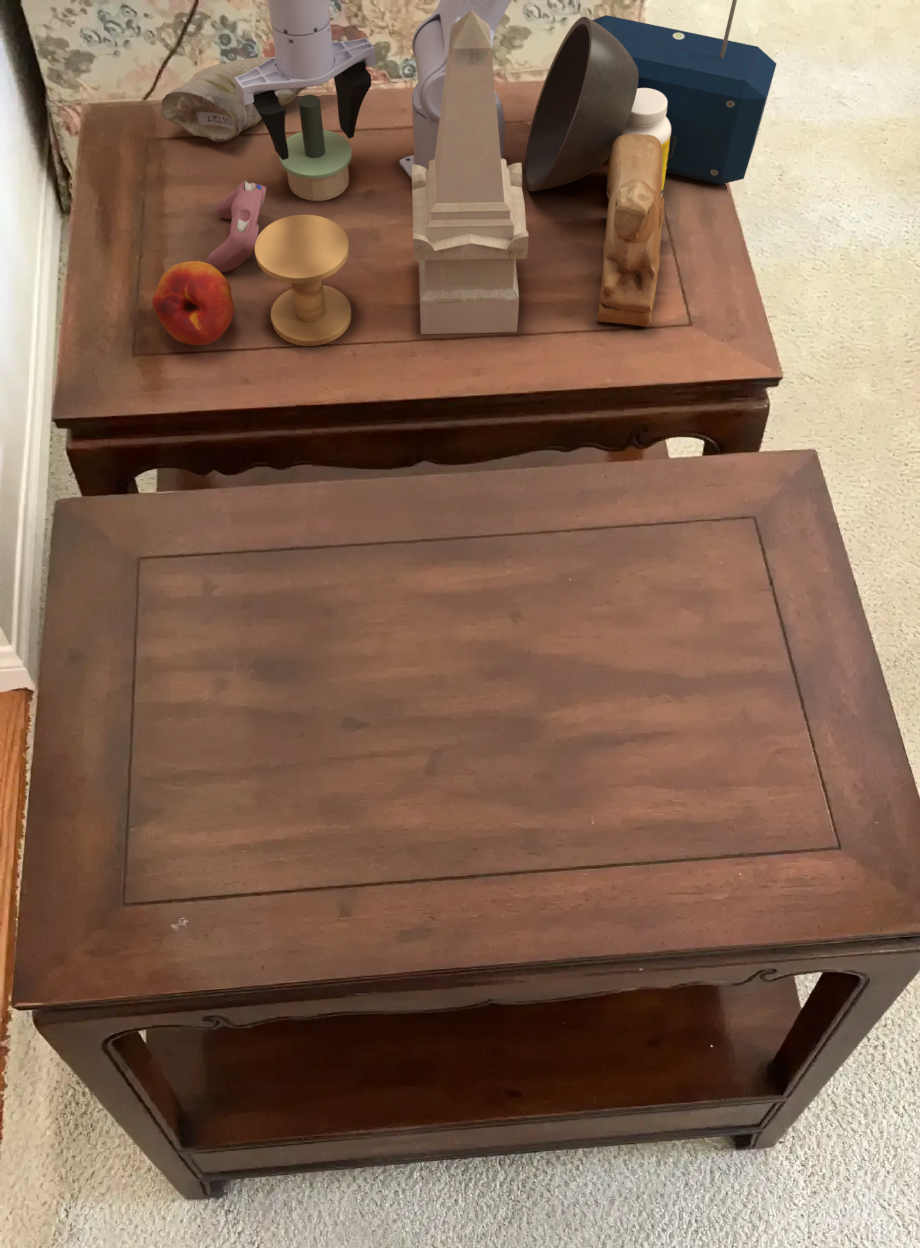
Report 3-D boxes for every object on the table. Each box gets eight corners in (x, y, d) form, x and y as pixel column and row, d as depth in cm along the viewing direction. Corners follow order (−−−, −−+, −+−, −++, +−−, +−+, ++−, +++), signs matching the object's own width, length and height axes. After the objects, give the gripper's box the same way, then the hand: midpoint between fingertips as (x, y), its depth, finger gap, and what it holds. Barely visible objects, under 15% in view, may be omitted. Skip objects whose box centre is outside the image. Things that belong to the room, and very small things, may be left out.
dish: (333, 155, 129) (330, 129, 126) (359, 189, 126) (357, 163, 123) (279, 173, 127) (275, 147, 124) (304, 208, 124) (300, 182, 121)
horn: (244, 123, 120) (173, 49, 118) (218, 187, 130) (151, 120, 128) (354, 41, 128) (289, -29, 127) (321, 107, 139) (260, 43, 137)
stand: (332, 276, 118) (324, 203, 111) (370, 330, 114) (364, 258, 107) (253, 304, 116) (239, 232, 108) (289, 360, 112) (277, 289, 104)
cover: (333, 125, 126) (328, 69, 121) (363, 165, 123) (359, 110, 117) (267, 145, 124) (259, 90, 119) (296, 187, 121) (289, 132, 115)
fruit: (147, 350, 113) (127, 287, 106) (183, 295, 117) (166, 231, 110) (220, 369, 111) (204, 307, 105) (254, 314, 115) (242, 250, 109)
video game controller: (244, 288, 119) (266, 240, 114) (202, 272, 118) (222, 222, 112) (255, 225, 125) (277, 176, 119) (214, 208, 123) (234, 158, 118)
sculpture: (590, 325, 115) (607, 200, 102) (603, 213, 123) (620, 85, 110) (654, 331, 114) (679, 206, 101) (661, 219, 123) (685, 91, 110)
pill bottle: (673, 200, 124) (687, 106, 115) (626, 219, 123) (636, 125, 114) (641, 170, 127) (652, 76, 118) (594, 188, 126) (602, 94, 117)
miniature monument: (515, 262, 120) (532, -28, 94) (521, 335, 114) (541, 47, 88) (415, 264, 119) (404, -26, 94) (416, 337, 114) (406, 49, 88)
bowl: (655, 104, 106) (592, 94, 105) (578, 227, 127) (524, 220, 126) (653, -10, 108) (590, -22, 107) (577, 129, 130) (524, 121, 128)
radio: (753, 147, 130) (803, -33, 113) (739, 194, 125) (788, 15, 108) (575, 107, 133) (597, -73, 116) (555, 152, 128) (574, -29, 111)
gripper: (350, -22, 114) (359, 102, 126) (214, 17, 111) (237, 142, 122) (381, 14, 111) (388, 138, 123) (242, 56, 107) (263, 180, 119)
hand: (314, 143), depth 122 cm, fingers open, 7 cm apart
